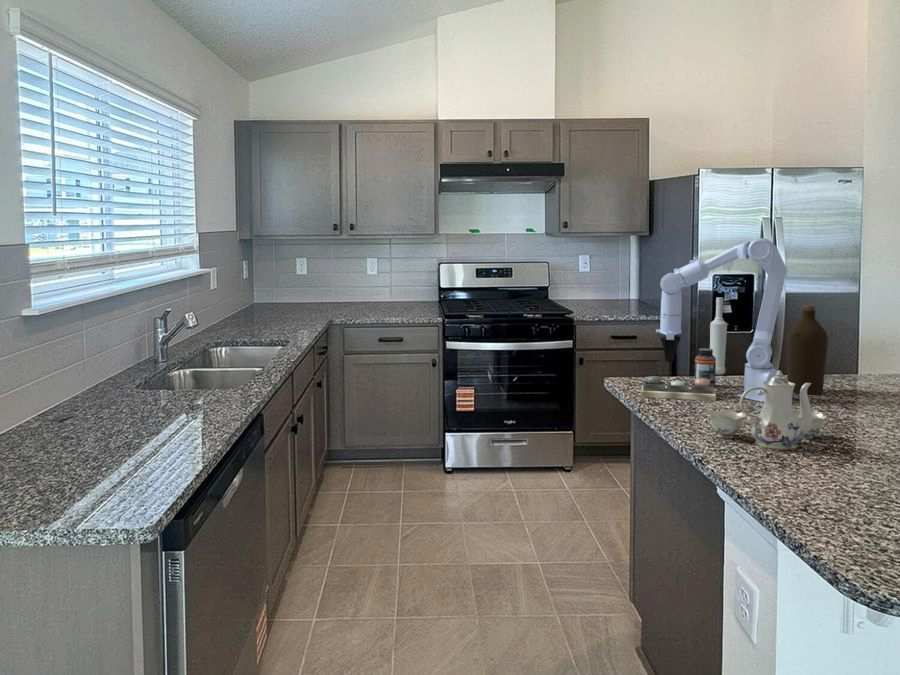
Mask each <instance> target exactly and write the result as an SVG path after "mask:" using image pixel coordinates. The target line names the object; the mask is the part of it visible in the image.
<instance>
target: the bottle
mask: <svg viewBox="0 0 900 675" xmlns="http://www.w3.org/2000/svg"><path fill="white" fill-rule="evenodd" d="M715 304H716V305H715V317H714V320H712V321H711V322H710V324H709V333H710V334H709V339H710V340H709V349H713V356H714V357H715V358H716V372H715V375H724V374H726V367H725V366H726V363H725V362H726V350H727V349H726V347H727V329H728V323H727V322H726V321H725V319H724V317H723V305H724V297H721V296H720V297H718V296H717V297H716V299H715Z"/></svg>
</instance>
